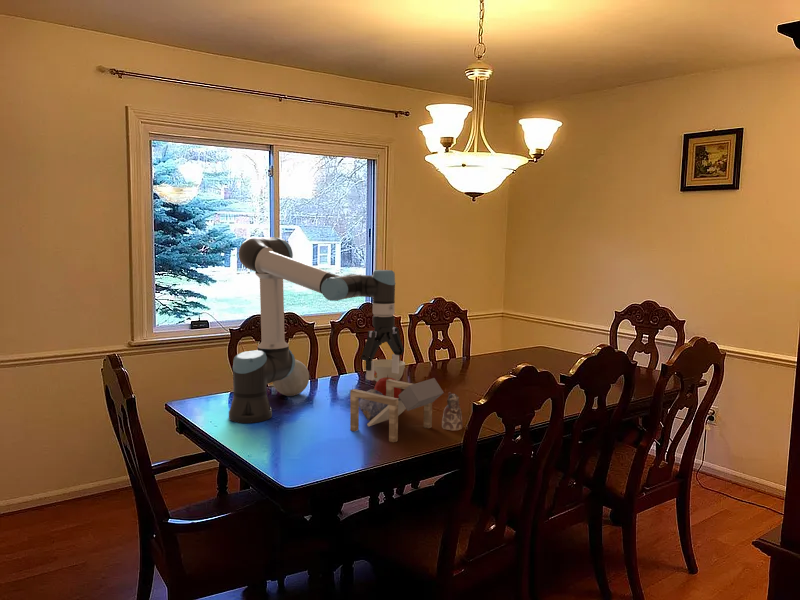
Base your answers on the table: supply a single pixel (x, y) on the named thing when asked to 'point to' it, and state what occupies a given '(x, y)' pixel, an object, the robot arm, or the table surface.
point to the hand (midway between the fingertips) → (383, 376)
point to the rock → (371, 406)
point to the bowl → (387, 369)
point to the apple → (381, 387)
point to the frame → (386, 399)
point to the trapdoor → (412, 398)
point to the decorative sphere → (293, 381)
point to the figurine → (452, 414)
